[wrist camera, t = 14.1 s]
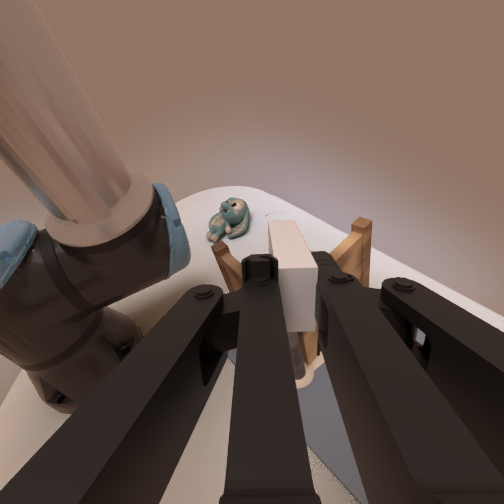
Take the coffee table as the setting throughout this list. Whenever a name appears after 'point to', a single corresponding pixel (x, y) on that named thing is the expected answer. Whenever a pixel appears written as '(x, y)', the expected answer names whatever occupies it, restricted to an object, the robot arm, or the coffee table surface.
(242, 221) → the stuffed animal
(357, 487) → the board
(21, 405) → the coffee table surface
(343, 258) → the fence panel
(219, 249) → the rod
